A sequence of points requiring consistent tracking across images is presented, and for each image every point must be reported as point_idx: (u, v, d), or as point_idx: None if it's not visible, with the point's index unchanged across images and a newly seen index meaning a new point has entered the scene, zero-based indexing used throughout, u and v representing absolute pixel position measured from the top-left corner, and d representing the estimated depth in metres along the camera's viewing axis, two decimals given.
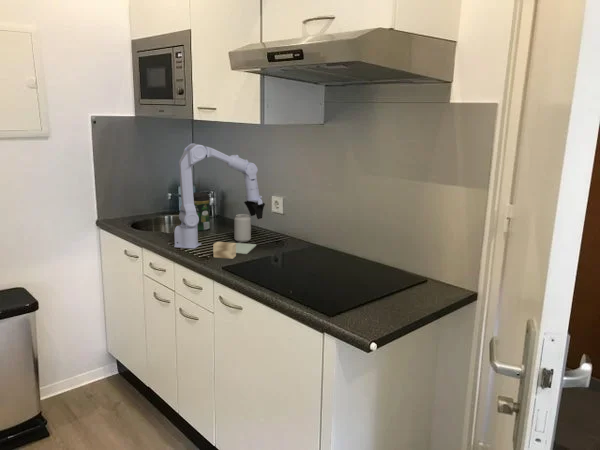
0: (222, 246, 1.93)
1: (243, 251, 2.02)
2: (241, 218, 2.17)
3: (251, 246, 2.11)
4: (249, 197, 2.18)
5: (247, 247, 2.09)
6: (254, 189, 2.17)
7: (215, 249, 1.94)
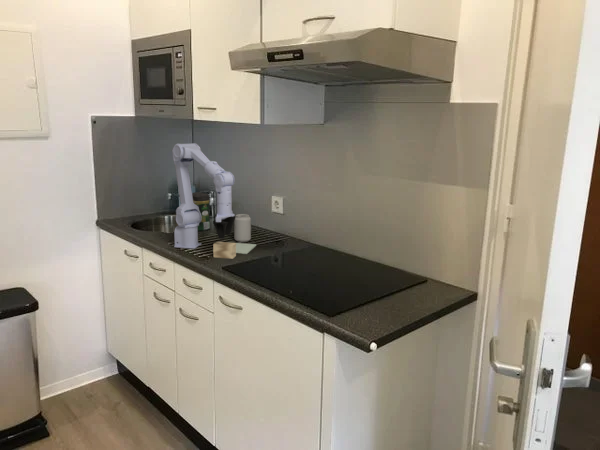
0: (222, 246, 1.93)
1: (243, 251, 2.02)
2: (241, 218, 2.17)
3: (251, 246, 2.11)
4: (217, 211, 1.92)
5: (247, 247, 2.09)
6: (221, 204, 1.89)
7: (215, 249, 1.94)
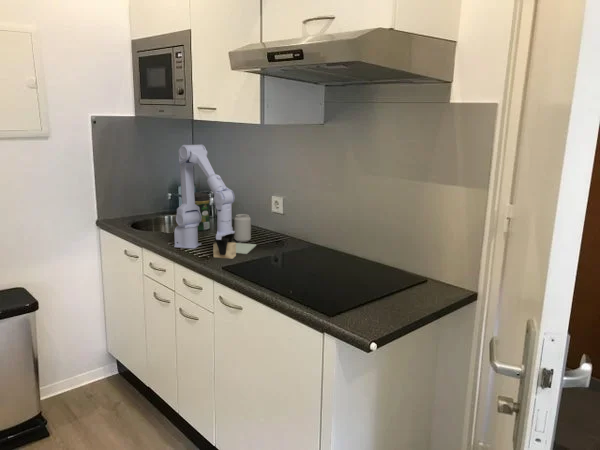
0: None
1: (243, 251, 2.02)
2: (241, 218, 2.17)
3: (251, 246, 2.11)
4: (217, 229, 1.93)
5: (247, 247, 2.09)
6: (221, 221, 1.91)
7: (215, 248, 1.94)
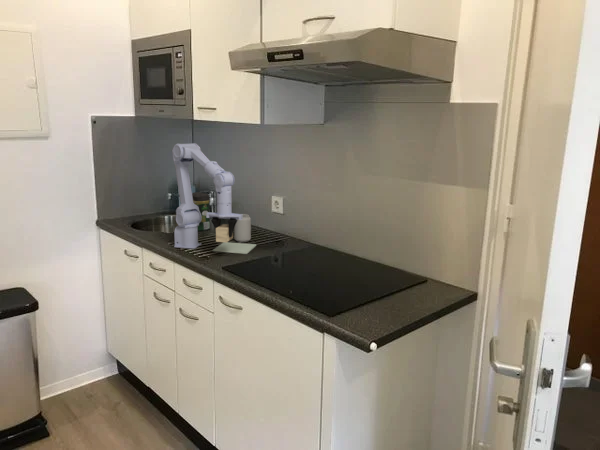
0: None
1: (243, 251, 2.02)
2: None
3: (251, 246, 2.11)
4: None
5: (247, 247, 2.09)
6: None
7: None
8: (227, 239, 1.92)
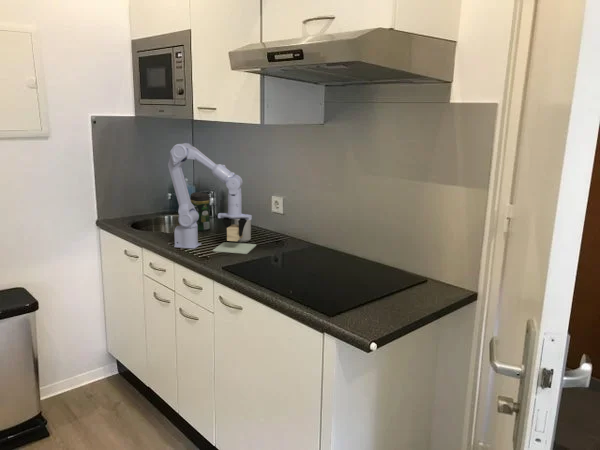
0: None
1: (243, 251, 2.02)
2: None
3: (251, 246, 2.11)
4: None
5: (247, 247, 2.09)
6: None
7: None
8: (237, 238, 2.04)
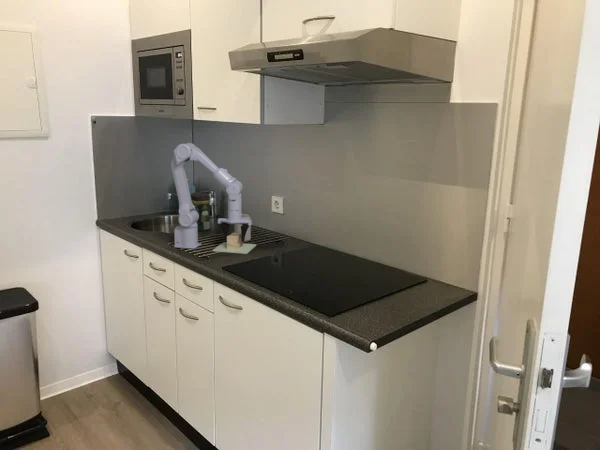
0: None
1: (243, 251, 2.02)
2: None
3: (251, 246, 2.11)
4: None
5: (247, 247, 2.09)
6: None
7: None
8: (237, 247, 2.05)
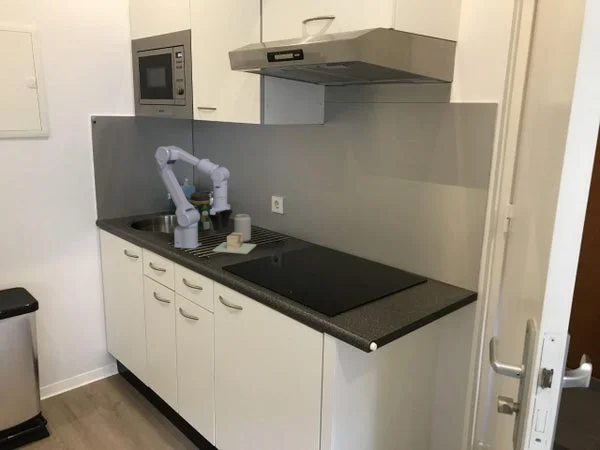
0: None
1: (243, 251, 2.02)
2: (241, 218, 2.17)
3: (251, 246, 2.11)
4: None
5: (247, 247, 2.09)
6: (217, 197, 1.99)
7: None
8: (237, 247, 2.05)
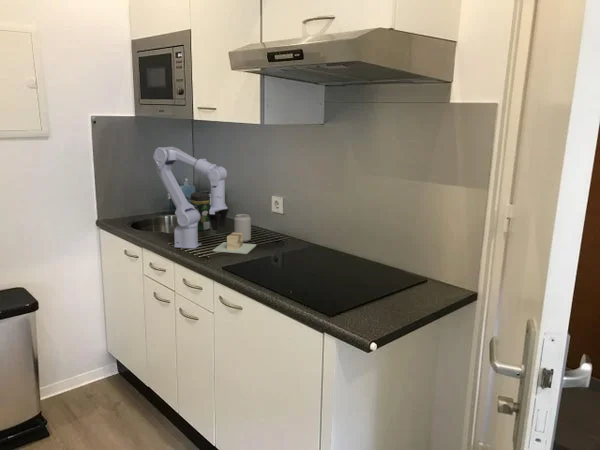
0: None
1: (243, 251, 2.02)
2: (241, 218, 2.17)
3: (251, 246, 2.11)
4: (211, 204, 2.01)
5: (247, 247, 2.09)
6: (215, 197, 1.99)
7: None
8: (237, 247, 2.05)
